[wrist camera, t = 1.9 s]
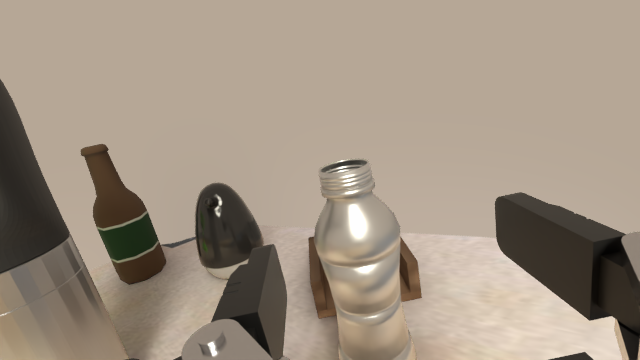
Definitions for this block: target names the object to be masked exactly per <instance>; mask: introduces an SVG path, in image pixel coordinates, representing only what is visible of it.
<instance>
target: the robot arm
mask: <svg viewBox="0 0 640 360" xmlns="http://www.w3.org/2000/svg"><path fill="white" fill-rule="evenodd" d="M495 216H496V237H497V242H498V245H499V247H500V249H501V251H502V252H503V253H504V254H505V255H506V256H507V257H508V258H510V259H511V260H512V261H514V262H515V263H516V264H517V265H519V266H520V267H521V268H523V269H524V270H525V271H526V272H528V273H529V274H530V275H532V276H533V277H534V278H535V279H537V280H538V281H539V282H541V283H542V284H543V285H544V286H546V287H547V288H548V289H550V290H551V291H552V292H553V293H555V294H556V295H557V296H559V297H560V298H561V299H562V300H564V301H565V302H566V303H568V304H569V305H570V306H571V307H573V308H574V309H575V310H577V311H578V312H579V313H580V314H582V315H583V316H584V317H586V318H587V319H588V320H589V321H590V320H595V319H599V318H604V317H609V316H613V317H614V318H615V328H614V329H615V334H616V338H617V341H618V345H619V348H620V352H621V355H622V359H623V360H640V232H634V233H629V234H624V233H621V232H619V231H617V230H614V229H612V228H610V227H607V226H605V225H603V224H600V223H598V222H595V221H593V220H591V219H586V217H584V216H581V215H578V214H574V212H572V211H569V210H567V209H565V208H562V207H560V206H556V205H552V204H548V203H545V202H543V201H541V200H539V199H536V198H534V197H532V196H529V195H527V194H525V193H515V194H510V195H505V196H501V197H498V198H497V199H496V201H495ZM286 307H287V291H286V285H285V281H284V277H283V273H282V270H281V266H280V262H279V259H278V255H277V251H276V248H275V246H274V244H271V245H266V246H262V247H257V248H253V249H252V251H251V254H250V257H249V260H248V263H247V264H243V265H239V266H238V268H237V269H236V270H235V271H234V272H233V273H232V274H231V275H230V277H229V279H228V282H227V284H226V287H225V289H224V292H223V296H222V297H221V299H220V301H219V304H218V306H217V309H216V311H215V314H214V316H213V319H212V321H211V323H209V324H207V325H205V326H203V327H202V328H200V329H199V330H197V331H196V332H195V333H194V334H193V335H192V336H191V337H190V338H189V339H188V340H187V342H186V343H185V345H184V347H183V349H182V356H180V357H178V358H176V359H174V360H289V359H288V358H287V357H285V356H283V345H284V332H285V319H286ZM0 360H139V359H134V358H133V359H129V357H128V355H127V353H126V351H125V348H124V346H123V344H122V342H121V339H120V337H119V335H118V333H117V331H116V329H115V327H114V325H113V323H112V320H111V318H110V316H109V314H108V312H107V310H106V308H105V306H104V304H103V301H102V299H101V297H100V295H99V293H98V291H97V289H96V287H95V285H94V282H93V280H92V278H91V276H90V274H89V272H88V270H87V268H86V265H85V263H84V262H83V259H82V257H81V255H80V253H79V251H78V249H77V247H76V245H75V243H74V241H73V238H72V236H71V234H70V232H69V230H68V228H67V226H66V224H65V222H64V220H63V218H62V216H61V214H60V212H59V209H58V207H57V205H56V203H55V201H54V199H53V197H52V194H51V192H50V190H49V188H48V186H47V184H46V181H45V179H44V177H43V175H42V173H41V170H40V167H39V165H38V162H37V160H36V158H35V155H34V153H33V150H32V147H31V145H30V142H29V139H28V137H27V135H26V132H25V129H24V126H23V124H22V121H21V119H20V116H19V114H18V112H17V109H16V107H15V105H14V103H13V100H12V98H11V96H10V95H9V93H8V91H7V89H6V88H5V86H4V84H3V82H2V81H1V80H0ZM550 360H593V359H592V358H591V357H590V356H589V355H588V354H587V353H585V352H583V353H578V354H573V355H569V356H564V357H559V358H554V359H550Z"/></svg>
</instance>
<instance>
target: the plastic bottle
mask: <svg viewBox="0 0 640 360" xmlns="http://www.w3.org/2000/svg"><path fill="white" fill-rule="evenodd" d="M319 177H320V182H321V193H322V196H324V197H325V198H327V202H326V204H325V206H324V208H323V210H322V212H321V214H320V216H319V219H318V222H317V224H316V227H315V236H314V243H315V246H316V250H317V253H318V255H319V258H320V261H321V263H322V266H323V269H324V271H325V274H326V277H327V279H328V282H329V285H330V289H331V293H332V297H333V300H334V304H335V308H336V312H337V322H338V332H339V360H417V359H416V352H415V348H414V345H413V341H412V338H411V335H410V333H409V331H408V328H407V324H406V320H405V315H404V311H403V307H402V302H401V291H400V276H399V265H400V241H401V240H400V226H399V223H398V221H397V219H396V217H395V215H394V213H393V212H392V211H391V210H390V209H389V207H387V205H386V204H385V203H384V202H382V201H381V200H380V199H379V198H378V197H377V196H375V195H374V194H373V192H372V189H373V188H374V187H375V182H374V179H373V178H372V173H371V167H370V163H369V161H368V160H366V159H348V160H342V161H337V162H333V163H330V164H328V165H325V166H323V167H321V168H320V169H319Z"/></svg>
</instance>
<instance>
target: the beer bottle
mask: <svg viewBox="0 0 640 360" xmlns="http://www.w3.org/2000/svg"><path fill="white" fill-rule="evenodd" d="M107 151H108V148H107V147H106V145H104V144H99V145H94V146H90V147H85V148H83V149H81V155H82V156H84V157H85V160H86V162H87V165H88V168H89V171H90V174H91V177H92V180H93V183H94V185H95V190H96V195H97V197H96V200H95V203H94V207H93V218H94V221H95V224H96V226H97V229H98V231H99V234H100V236H101V238H102V240H103V242H104V244H105V247H106V249H107V251H108V254H109V256H110V258H111V260H112V263H113V265H114V267H115V269H116V272H117V273H118V275H119V277H120V279H121V280H122V281H124V282H126V283H128V284H133V283H136V282H140V281H144V280H147V279H148V278H150V277H152V276H153V275H155V274H157V273H159V272H160V271H161V270H162V268H163V267H164V265H165V264H166V260H165V257H164V253H163V251H162V248H161V245H160V243H159V240H158V238H157V235H156V233H155V230H154V227H153V225H152V223H151V220H150V217H149V214H148V212H147V209H146V207H145V205H144V203H143V201H141V199H140V198H139V197H138V196H137V195H136V194H135V193H133V192H132V191H130V190H128V189H127V188H126V187H125V186H124V184H123V182H122V181H121V179H120V177H119V175H118V173H117V172H116V169H115V167H114V165H113V163H112V161H111V159H110V156H109V154H108V152H107Z"/></svg>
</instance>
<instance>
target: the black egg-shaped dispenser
mask: <svg viewBox="0 0 640 360" xmlns="http://www.w3.org/2000/svg"><path fill="white" fill-rule="evenodd" d="M195 234H196V244H197V250H198V255H199V259H200V262H201V264H202V265H203V266H204V267H206V269H207V270H208V271H209V272H210V273H211V274H212V275H214V276H216V277H218V278H221V279H229V277H230V275H231V274H232V273H233V272H234V271H235V270H236V269H237V268H238V266H239V265H243V264H247V263H248V260H249V257H250V254H251V251H252V249H253V248H257V247H262V246H263V244H264V241H263V237H262V234H261V231H260V229H259V227H258V225H257V223H256V221H255V219H254V217H253V215H252V214H251V212H250V210H249V209H248V207H247V206H246V204H245V203H244V201H243V200H242V198H241V197H240V196H239V195H238V194H237V193H236V192H235V191H234V190H233V189H232V188H231V187H230V186H228V185H226V184H224V183H212V184H210V185H207V186H206V187H205V188H203V189H202V191H201V192H200V194H199V196H198V199H197V203H196V211H195Z"/></svg>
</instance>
